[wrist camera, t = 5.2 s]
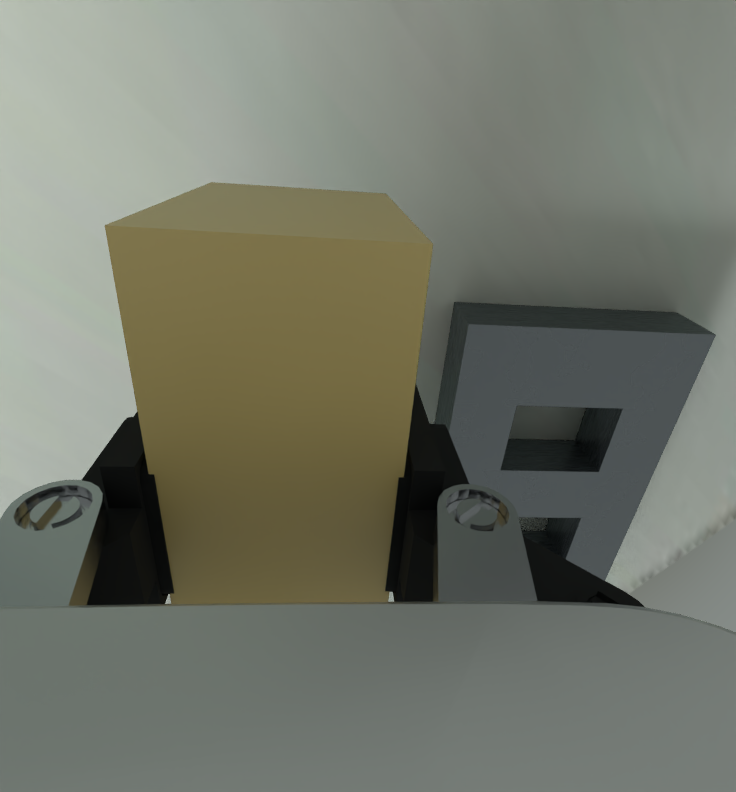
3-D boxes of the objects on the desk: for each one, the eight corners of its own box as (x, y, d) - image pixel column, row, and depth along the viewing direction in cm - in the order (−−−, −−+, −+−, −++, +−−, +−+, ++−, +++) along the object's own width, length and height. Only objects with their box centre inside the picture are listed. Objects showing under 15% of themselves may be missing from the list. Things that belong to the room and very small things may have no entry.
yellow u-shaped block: (360, 518, 16) (375, 705, 11) (236, 518, 16) (190, 711, 11) (385, 193, 12) (433, 244, 6) (211, 182, 11) (105, 224, 6)
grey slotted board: (572, 573, 36) (591, 609, 33) (410, 573, 35) (416, 611, 32) (677, 312, 26) (715, 334, 23) (454, 302, 25) (468, 324, 22)
